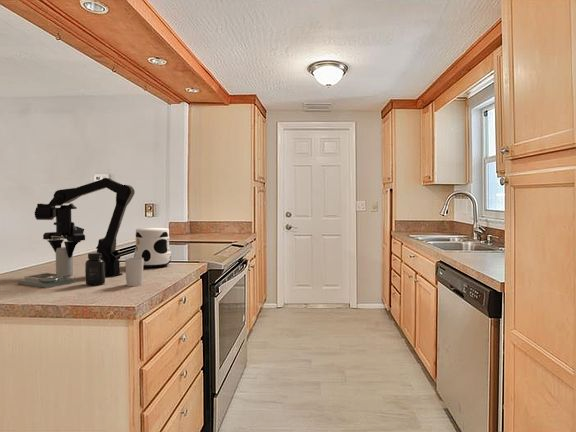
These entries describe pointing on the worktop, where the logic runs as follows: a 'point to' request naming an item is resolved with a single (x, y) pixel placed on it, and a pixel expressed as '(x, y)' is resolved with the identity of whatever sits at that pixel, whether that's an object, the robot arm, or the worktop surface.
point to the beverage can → (63, 262)
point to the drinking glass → (134, 271)
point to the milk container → (153, 246)
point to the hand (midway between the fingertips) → (64, 257)
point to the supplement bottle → (95, 269)
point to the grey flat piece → (46, 280)
